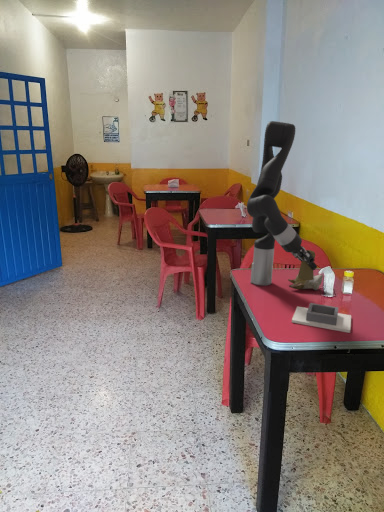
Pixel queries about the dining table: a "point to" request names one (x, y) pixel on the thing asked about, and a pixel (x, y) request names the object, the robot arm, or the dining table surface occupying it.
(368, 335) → the dining table surface
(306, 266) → the cork
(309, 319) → the board
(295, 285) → the ceramic sculpture
